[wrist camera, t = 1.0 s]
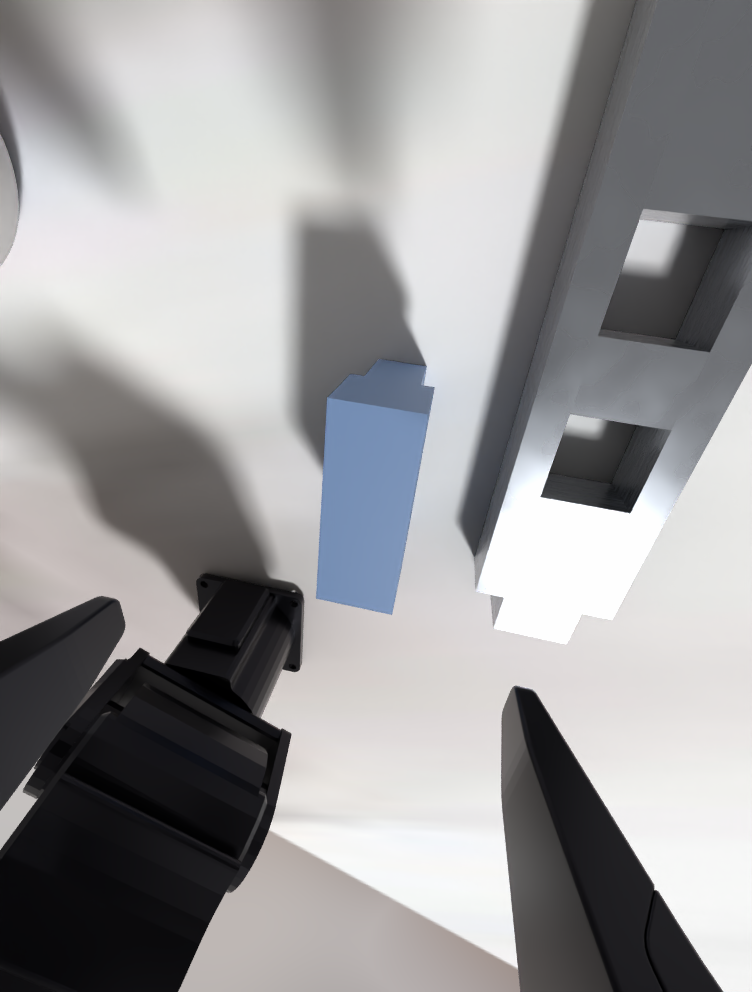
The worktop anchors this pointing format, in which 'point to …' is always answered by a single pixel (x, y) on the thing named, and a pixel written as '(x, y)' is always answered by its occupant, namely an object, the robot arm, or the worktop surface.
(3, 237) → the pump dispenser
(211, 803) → the robot arm
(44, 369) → the worktop surface
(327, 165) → the worktop surface
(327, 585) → the blue notched pillar
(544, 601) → the rail
